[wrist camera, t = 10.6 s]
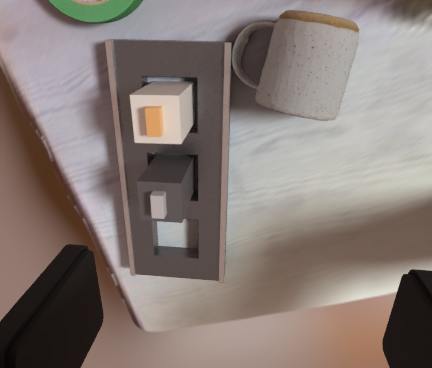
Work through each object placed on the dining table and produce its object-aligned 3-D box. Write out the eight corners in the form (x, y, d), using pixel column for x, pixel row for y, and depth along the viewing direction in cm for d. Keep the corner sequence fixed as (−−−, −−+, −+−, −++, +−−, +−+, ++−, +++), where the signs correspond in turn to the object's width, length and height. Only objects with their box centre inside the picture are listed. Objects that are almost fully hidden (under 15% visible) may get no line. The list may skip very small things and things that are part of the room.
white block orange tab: (193, 81, 36) (176, 97, 28) (195, 121, 38) (179, 147, 29) (154, 80, 36) (125, 97, 28) (157, 120, 38) (131, 146, 30)
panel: (232, 41, 34) (231, 42, 32) (225, 270, 46) (223, 282, 43) (113, 39, 35) (104, 40, 33) (136, 264, 47) (130, 275, 44)
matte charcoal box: (194, 154, 39) (178, 188, 31) (194, 187, 41) (180, 228, 33) (158, 152, 39) (133, 185, 31) (160, 185, 41) (137, 225, 33)
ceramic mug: (353, 23, 32) (378, 22, 25) (327, 109, 36) (343, 129, 29) (241, 4, 33) (235, -3, 26) (226, 91, 36) (218, 106, 29)
